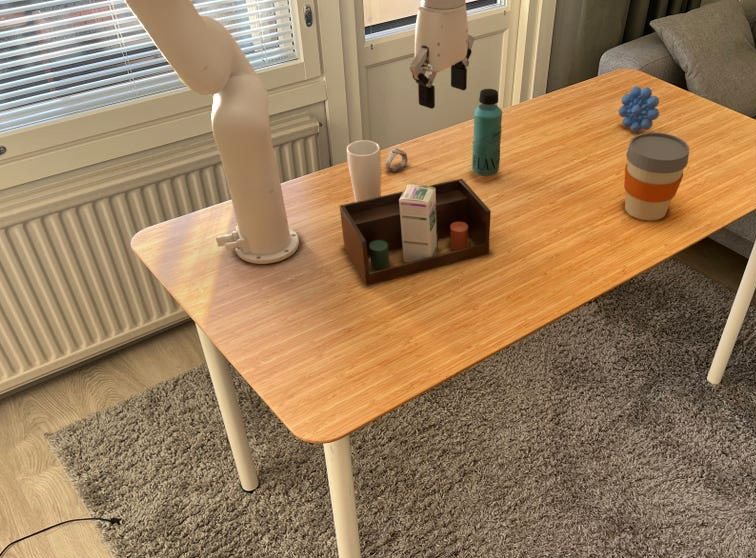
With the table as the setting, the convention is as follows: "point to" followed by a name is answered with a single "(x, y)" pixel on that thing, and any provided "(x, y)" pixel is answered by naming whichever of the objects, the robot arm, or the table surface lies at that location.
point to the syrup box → (418, 222)
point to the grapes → (639, 109)
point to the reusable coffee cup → (653, 173)
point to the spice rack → (384, 224)
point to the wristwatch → (391, 157)
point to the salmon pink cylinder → (458, 236)
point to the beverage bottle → (487, 134)
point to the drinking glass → (364, 169)
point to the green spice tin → (379, 255)
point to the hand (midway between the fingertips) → (443, 97)
